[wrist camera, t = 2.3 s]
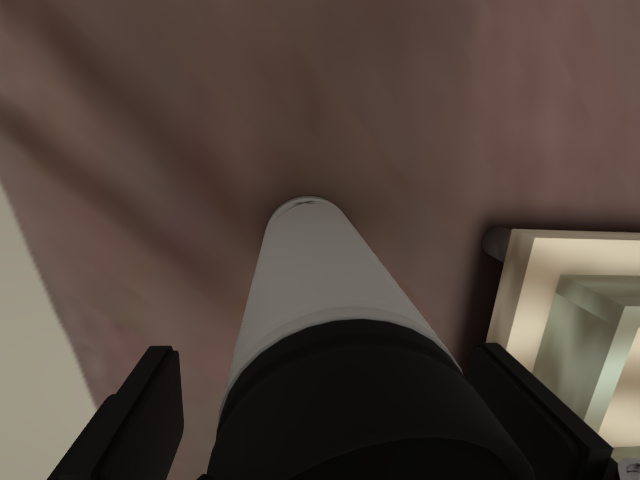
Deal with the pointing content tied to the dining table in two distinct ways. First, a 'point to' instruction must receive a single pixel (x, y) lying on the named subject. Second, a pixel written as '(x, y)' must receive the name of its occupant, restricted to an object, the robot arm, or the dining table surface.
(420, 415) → the travel mug
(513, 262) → the framed shelf
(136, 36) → the dining table surface
